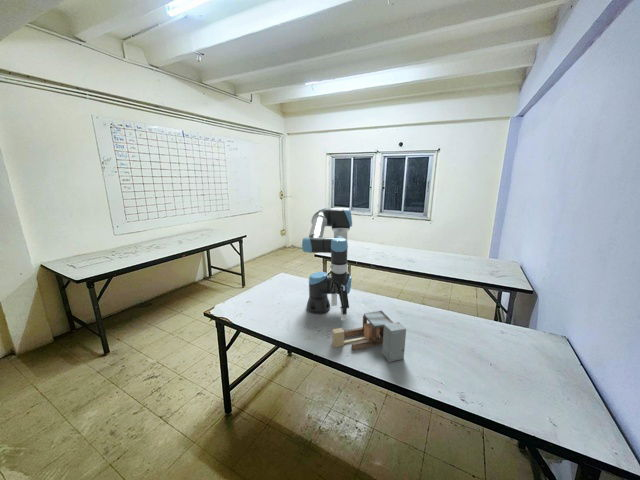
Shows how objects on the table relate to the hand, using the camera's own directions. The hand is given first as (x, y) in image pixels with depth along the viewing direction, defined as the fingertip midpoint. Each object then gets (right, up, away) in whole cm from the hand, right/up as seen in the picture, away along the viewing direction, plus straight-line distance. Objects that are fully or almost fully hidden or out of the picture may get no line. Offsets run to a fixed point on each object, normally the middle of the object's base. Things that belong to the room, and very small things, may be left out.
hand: (338, 312), depth 122 cm
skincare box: (+25, -20, -4) cm, 32 cm away
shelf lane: (+15, -17, +9) cm, 24 cm away
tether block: (+9, -17, +7) cm, 21 cm away
